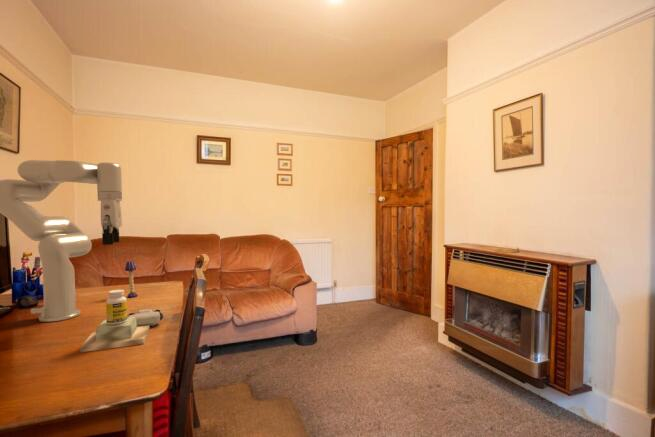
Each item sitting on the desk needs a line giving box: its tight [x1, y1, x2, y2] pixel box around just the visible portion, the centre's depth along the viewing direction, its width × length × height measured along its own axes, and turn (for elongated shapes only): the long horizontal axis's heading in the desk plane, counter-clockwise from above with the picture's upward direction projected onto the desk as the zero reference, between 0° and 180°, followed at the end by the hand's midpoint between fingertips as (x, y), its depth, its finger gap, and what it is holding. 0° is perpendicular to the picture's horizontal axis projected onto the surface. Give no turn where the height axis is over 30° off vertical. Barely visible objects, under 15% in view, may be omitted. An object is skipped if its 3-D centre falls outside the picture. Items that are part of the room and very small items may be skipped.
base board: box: [79, 316, 151, 353], centre depth 105 cm, size 16×13×6 cm
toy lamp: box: [124, 260, 139, 299], centre depth 159 cm, size 5×5×17 cm
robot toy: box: [127, 308, 165, 327], centre depth 120 cm, size 12×4×15 cm
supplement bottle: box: [105, 289, 128, 325], centre depth 105 cm, size 5×5×10 cm
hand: (111, 243), depth 125 cm, fingers open, 9 cm apart
